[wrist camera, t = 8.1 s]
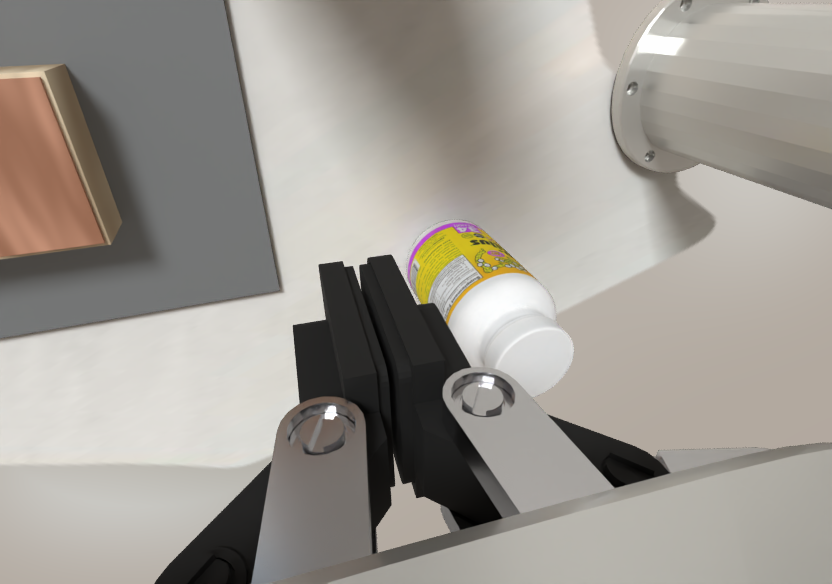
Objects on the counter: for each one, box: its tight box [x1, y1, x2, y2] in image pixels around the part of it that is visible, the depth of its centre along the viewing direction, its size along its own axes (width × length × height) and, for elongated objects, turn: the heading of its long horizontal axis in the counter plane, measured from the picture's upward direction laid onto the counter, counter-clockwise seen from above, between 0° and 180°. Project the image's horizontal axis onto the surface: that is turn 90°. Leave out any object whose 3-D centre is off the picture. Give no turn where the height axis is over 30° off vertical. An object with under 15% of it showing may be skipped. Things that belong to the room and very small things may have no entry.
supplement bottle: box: [406, 220, 574, 398], centre depth 30 cm, size 7×7×13 cm
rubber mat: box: [0, 0, 280, 338], centre depth 24 cm, size 20×20×1 cm
